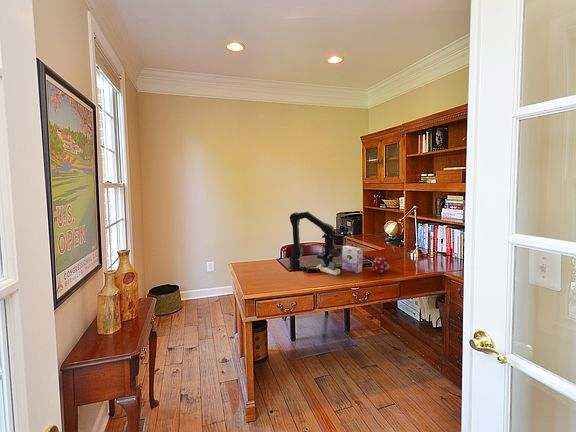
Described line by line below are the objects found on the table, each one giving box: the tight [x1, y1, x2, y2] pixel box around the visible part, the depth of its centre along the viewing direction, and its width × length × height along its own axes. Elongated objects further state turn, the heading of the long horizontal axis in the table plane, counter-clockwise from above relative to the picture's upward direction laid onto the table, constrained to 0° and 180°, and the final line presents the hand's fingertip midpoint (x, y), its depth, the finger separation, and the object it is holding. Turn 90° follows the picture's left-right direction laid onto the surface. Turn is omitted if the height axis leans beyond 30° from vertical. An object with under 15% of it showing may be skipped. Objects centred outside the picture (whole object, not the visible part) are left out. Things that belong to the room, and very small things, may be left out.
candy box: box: [341, 244, 364, 274], centre depth 223 cm, size 14×6×16 cm, turn 41°
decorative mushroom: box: [371, 256, 390, 274], centre depth 223 cm, size 11×11×15 cm
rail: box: [316, 264, 341, 276], centre depth 221 cm, size 16×5×3 cm, turn 48°
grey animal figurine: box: [320, 259, 337, 270], centre depth 220 cm, size 11×3×6 cm, turn 48°
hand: (328, 266), depth 221 cm, fingers closed on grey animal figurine, 3 cm apart
